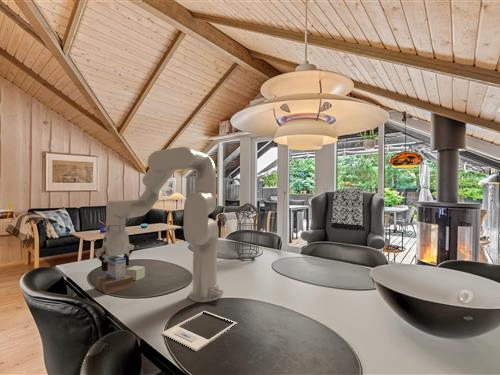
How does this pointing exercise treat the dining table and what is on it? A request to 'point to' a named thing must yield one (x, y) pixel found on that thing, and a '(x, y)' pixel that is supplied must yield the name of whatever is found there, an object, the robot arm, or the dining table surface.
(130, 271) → the sage block
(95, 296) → the dining table surface
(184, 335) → the photo frame
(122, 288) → the walnut block
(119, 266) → the medicine box
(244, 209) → the geometric lantern
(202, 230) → the robot arm
